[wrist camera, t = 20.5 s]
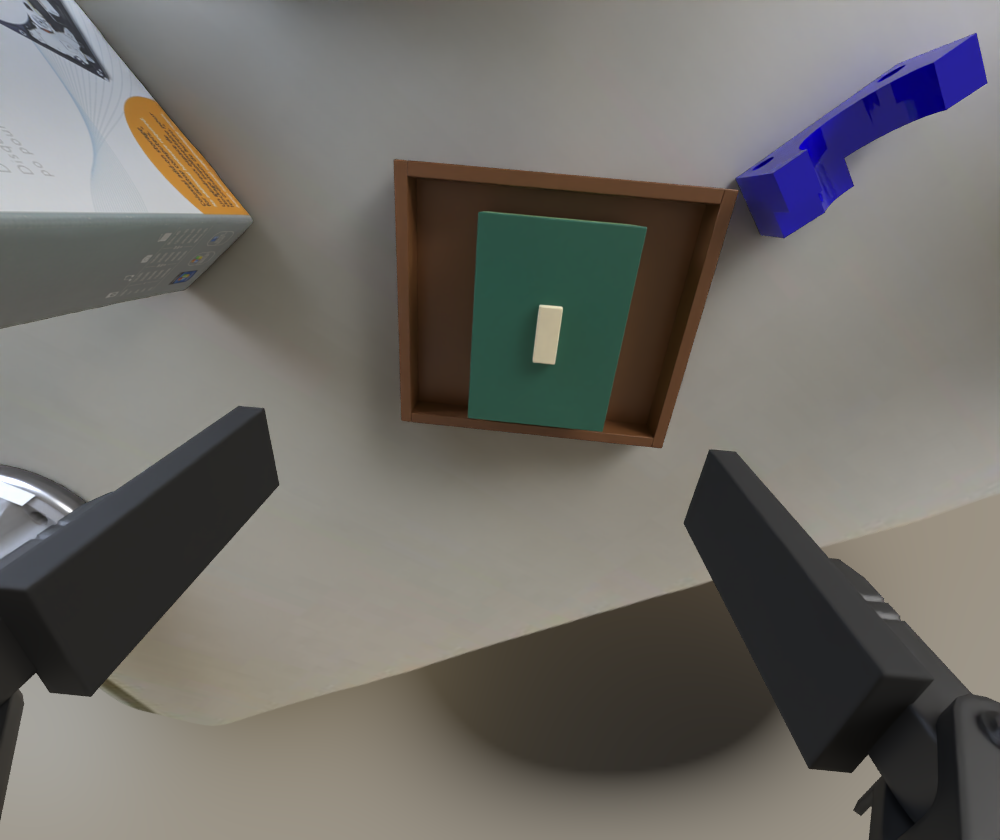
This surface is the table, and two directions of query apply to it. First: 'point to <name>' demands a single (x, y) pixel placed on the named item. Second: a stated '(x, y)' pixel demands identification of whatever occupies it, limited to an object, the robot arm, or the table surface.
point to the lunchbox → (549, 317)
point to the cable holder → (855, 135)
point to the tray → (470, 189)
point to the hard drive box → (94, 175)
